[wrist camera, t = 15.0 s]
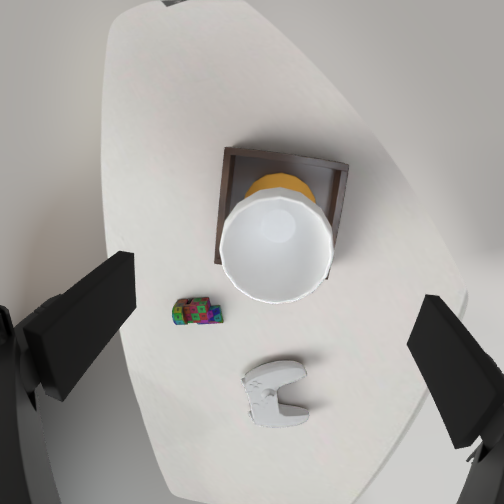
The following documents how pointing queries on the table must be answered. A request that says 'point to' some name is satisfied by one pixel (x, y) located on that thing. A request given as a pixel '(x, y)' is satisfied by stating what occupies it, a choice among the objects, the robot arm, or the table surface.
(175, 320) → the block
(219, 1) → the table surface
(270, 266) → the cup
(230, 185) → the holder
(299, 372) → the game controller
